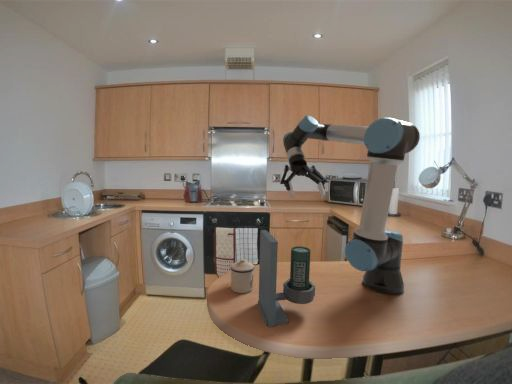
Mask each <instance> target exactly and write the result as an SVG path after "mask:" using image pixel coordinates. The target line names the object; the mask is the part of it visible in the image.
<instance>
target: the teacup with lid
mask: <svg viewBox="0 0 512 384" xmlns="http://www.w3.org/2000/svg"><path fill="white" fill-rule="evenodd" d="M230 270H231V271H230V276H231V277H230V289H231V290H232V292H234V293H236V294H249V293H250V292H252V291H253V289H254V272H255V271H254V270H255V266H254V264H253V263H251V262H249V261H247V260H246V259H245V258H240V259H239V261H237V262H233V263H232V264H231V266H230Z"/></svg>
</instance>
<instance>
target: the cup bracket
mask: <svg viewBox="0 0 512 384" xmlns="http://www.w3.org/2000/svg"><path fill="white" fill-rule="evenodd" d="M259 234H260V235H259V236H260V237H259V270H258V300H257V306H258V309H259V312H260V313H261V316H262V318H263V321H264V324H265V326H267V327H268V328H273V327H274V328H275V327H276V325H279V324H280V325H281V324H288V323H289V318H288V316H287V314H286V313H285V311H284V308H283V307H282V305H281V304H280V302H279V301H286V300H287V301H289V302H290V303H293V304H297V305H306V304H310V303H312V302H313V301H314V299H315V298H314V297H315V296H316V285H315V284H313V282H312V281H311V280H309V290H305V291H297V290H294V289H291V288H290V278H288V279H287V280H286V281H285V282H283V287H282V289H283V290H282V292H277V281H278V280H277V279H278V276H277V275H278V274H277V273H278V246H279V245H278V243H279V242H278V240H277V239H276V238H274V236H272V234H271V233H269V231H268V230H267V229H260V231H259Z"/></svg>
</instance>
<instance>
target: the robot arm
mask: <svg viewBox="0 0 512 384" xmlns="http://www.w3.org/2000/svg"><path fill="white" fill-rule="evenodd" d="M420 135H421V134H420V131H419V129H418V127H416V125H415V124H414V123H412V122H409V121H404V120H401V119H398V118H395V117H381V118H378V119H376V120H374V121H373V122H372V123H370V124H369V126H368V125H367V126H365V125H364V126H363V125H349V124H348V125H347V124H345V125H343V124H330V123H329V124H327V123H319V121H318V120H316V118H315V117H313V116H311V115H310V114H309V115H308V114H307V115H305V116H304V117H303V118H302V119H301V120H300V121H299V122H298V124H297V125H296V126H295V128H294V129H293V131H289V132H287V133H286V134H284V135H283V138H282V142H283V143H282V144H283V146H284V150H285V153H286V156H287V161H288V163H289V165H287V164H285V166H284V168H283V175H282V177H281V179H280V182H279V183H280V185H283V186H284V187H285V188H286V189H285V190H286V191H288V194H289V198H290V199H293V198H294V196H295V193H294V192H295V191H294V189H293V185H292V180H293V178H295V177H296V176H298V177H306V178H308V179H310V180H312V181H313V182H314V183H315V184H317V189H318V191H319V192H318V193H319V194H320V198H321V199H324V198H325V196H326V195H327V194H326V191H325V190H326V187H325V184H326V183H327V178H325V176H323V174H321V173H320V171H318V169H316V166H315V165H312V166H308V163H307V159H306V155H305V154H304V151H303V147H302V146H303V145H304V144H305V143H306V142H307V141H308V139H309V140H319V141H325V142H327V141H328V142H337V143H345V144H354V145H361V146H362V145H363V146H365V148H366V149H367V154H366V158H367V159H368V161H369V163H370V164H369V170H368V175H367V180H366V186H365V192H364V198H363V203H362V209H361V215H360V220H359V226H358V227H355V229H353V235H352V239H350V240H349V241H348V242H347V243H346V244H345V248H344V254H345V255H344V256H345V258H346V260H347V262H348V263H349V264H350V265H351V267H353V269H355V270H358V271H360V272H364V274H363V276H362V283H363V286H365V287H366V288H367V289H370V290H371V291H373V292H377V293H380V294H385V295H386V294H387V295H398V294H402V293H403V292H404V289H405V288H404V287H405V283H404V279H403V276H402V273H401V265H402V256H403V255H402V254H403V245H404V241H403V239H404V236H403V234H402V233H400V232H398V231H394V230H388V229H386V227H387V221H388V216H389V212H390V211H389V210H390V205H391V201H392V195H393V190H394V186H395V179H396V177H397V176H396V174H397V170H398V166H399V165H400V164H401V163H403V162H404V161H405V157H406V154H408V153H411V152H412V151H413V150H415V148H416V147H417V146H418V145H419V142H420V138H421V137H420ZM289 171H291V173H290V175H289V176H287V173H288V172H289ZM286 176H287V178H286Z"/></svg>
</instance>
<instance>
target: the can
mask: <svg viewBox="0 0 512 384" xmlns="http://www.w3.org/2000/svg"><path fill="white" fill-rule="evenodd" d="M289 270H290V271H289V273H290V274H289V279H290V288H291V289H294V290H297V291H305V290H309V281H310V274H311V273H310V272H311V248H309V247H307V246H301V245H299V246H298V245H296V246H293V247H292V246H291V249H290V269H289Z"/></svg>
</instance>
